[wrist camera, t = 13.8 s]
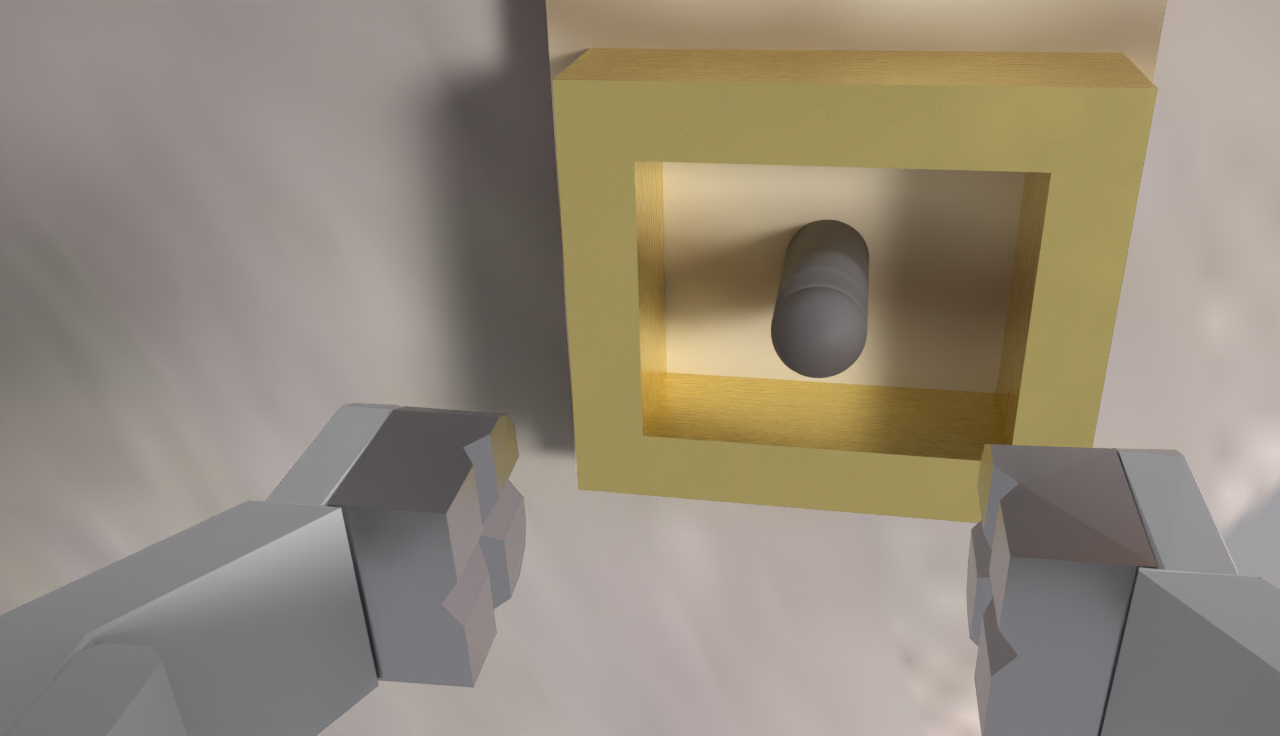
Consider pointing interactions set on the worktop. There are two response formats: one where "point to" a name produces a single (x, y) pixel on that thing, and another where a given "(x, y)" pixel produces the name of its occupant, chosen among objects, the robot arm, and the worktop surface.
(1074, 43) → the keeper base
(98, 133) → the worktop surface
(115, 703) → the robot arm
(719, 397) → the brass link
